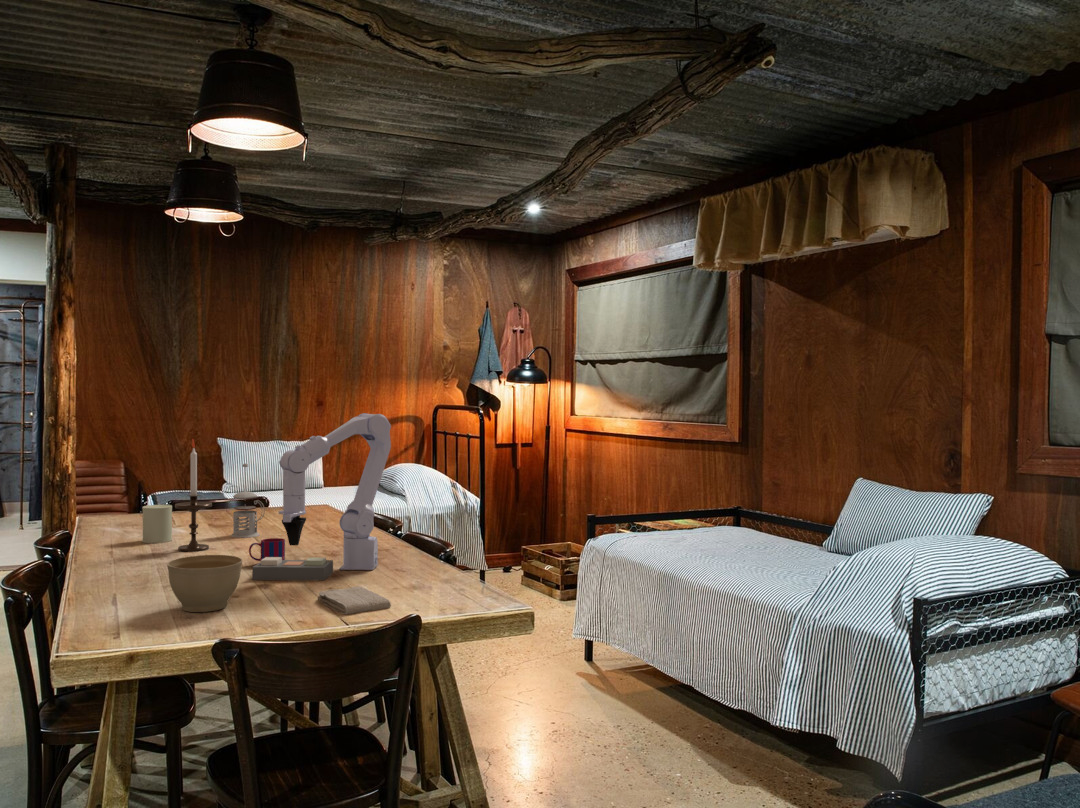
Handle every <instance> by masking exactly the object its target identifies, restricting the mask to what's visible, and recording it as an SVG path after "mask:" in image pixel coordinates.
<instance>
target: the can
mask: <svg viewBox="0 0 1080 808" xmlns="http://www.w3.org/2000/svg"><path fill="white" fill-rule="evenodd" d="M141 510H142V540H141V542H142V543H143V544H159V543H160V544H162V543H168V542H172V541H173V537H172V535H173V533H172V532H173V529H172V528H173V525H172V523H173V505H172V504H163V503H162V504H150V505H144V506H142V509H141Z"/></svg>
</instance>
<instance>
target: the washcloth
mask: <svg viewBox="0 0 1080 808" xmlns="http://www.w3.org/2000/svg"><path fill="white" fill-rule="evenodd" d="M317 600H318V601H319V602H320V603H322V604H323V605H325V606H326V607H329V608H330V609H332V610H334V611H336V612H338V613H341V614H343V615H352V614H358V613H362V612H363V613H364V612H370V611H371V612H372V611H377V610H384V609H385V610H386V609H389V608H390V607H392V605H391V601H390V599H389V598H386V597H385V596H382V595H380V594H379V593H376V592H374V591H372V590H369V589H367V588H365V587H363V586H360V585H359V586H352V587H349V588H348V587H347V588H343V589H342V588H341V589H339V588H337V589H336V588H333V589H327V590H323V591H319V592H318V597H317Z"/></svg>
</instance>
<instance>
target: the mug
mask: <svg viewBox="0 0 1080 808" xmlns="http://www.w3.org/2000/svg"><path fill="white" fill-rule="evenodd" d="M255 545H257V546H259V547H260V558H256V557H254V556H253V555H252V548H253V546H255ZM248 553H249V554H248V555H249V556H250V557H251V559H253V560H255V561H258V562H261V560H262V559H264V558H265V557H282V560H286V540H285V538H278V537H275V538H274V537H273V538H272V537H271V538H263V539H260V543H259V542H254V543H251V544H250V545H249V549H248Z"/></svg>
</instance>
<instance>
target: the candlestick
mask: <svg viewBox="0 0 1080 808" xmlns="http://www.w3.org/2000/svg"><path fill="white" fill-rule="evenodd" d="M191 440H192V441H191V447H192V451H191V452H190V493H189V494H188V495H186V496H187V497H189V501H184V502H177V503H175V504H174V509H177V510H187V511H188V512H190V513H191V515H190V516H191V517H190V520H191V521H190V522H191V523H190V524H188V528H189V529H190V532H189V533H188V534H189V535H191V536H190V537H191V539H190V541H189V543H188V544H183V545H179V546H178V547H177V548H178V549H177V551H178V552H181V553H182V552H183V553H194V552H195V553H196V552H197V553H198V552H204V551H209V548H210V546H209V544H205V543H199V542H198V541H197V535H198V531H197V528H199V524H198V523H197V512H198V511H200V510H201V509H207V508H212V506H213V503H212V502H211V501H210V502H209V501H198V497H199V496H201V495H200V494H198V466H197V465H198V453H197V452H196V449H195V447H196V445H195V440H194V439H193V438H192V439H191Z"/></svg>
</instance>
